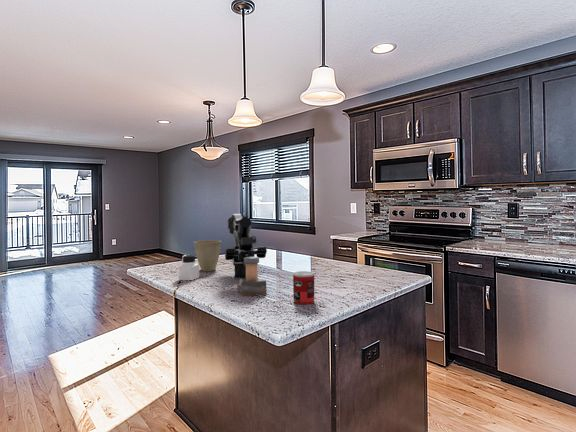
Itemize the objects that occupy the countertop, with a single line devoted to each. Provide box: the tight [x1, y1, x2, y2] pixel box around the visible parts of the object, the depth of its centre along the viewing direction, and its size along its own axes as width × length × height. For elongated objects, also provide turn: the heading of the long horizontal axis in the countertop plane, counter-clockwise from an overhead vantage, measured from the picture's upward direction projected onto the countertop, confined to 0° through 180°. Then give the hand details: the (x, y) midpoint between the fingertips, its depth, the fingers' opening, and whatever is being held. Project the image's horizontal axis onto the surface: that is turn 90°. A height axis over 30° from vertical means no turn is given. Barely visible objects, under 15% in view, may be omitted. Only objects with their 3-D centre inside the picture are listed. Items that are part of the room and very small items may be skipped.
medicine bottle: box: [178, 254, 200, 281], centre depth 177 cm, size 7×7×12 cm
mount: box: [237, 278, 267, 297], centre depth 153 cm, size 14×10×6 cm
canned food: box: [292, 270, 315, 305], centre depth 136 cm, size 8×8×11 cm
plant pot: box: [193, 239, 222, 272], centre depth 199 cm, size 15×15×16 cm
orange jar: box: [244, 256, 260, 281], centre depth 151 cm, size 6×6×13 cm
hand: (248, 268), depth 160 cm, fingers closed
